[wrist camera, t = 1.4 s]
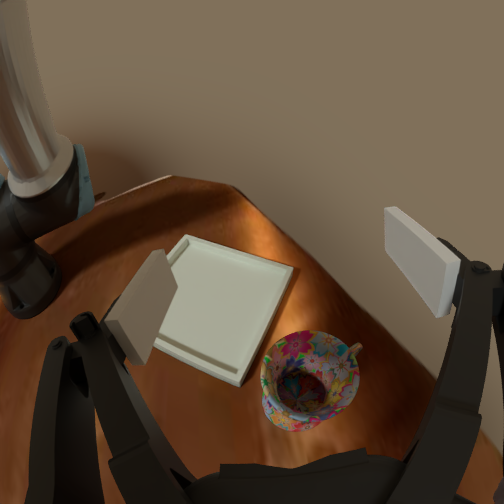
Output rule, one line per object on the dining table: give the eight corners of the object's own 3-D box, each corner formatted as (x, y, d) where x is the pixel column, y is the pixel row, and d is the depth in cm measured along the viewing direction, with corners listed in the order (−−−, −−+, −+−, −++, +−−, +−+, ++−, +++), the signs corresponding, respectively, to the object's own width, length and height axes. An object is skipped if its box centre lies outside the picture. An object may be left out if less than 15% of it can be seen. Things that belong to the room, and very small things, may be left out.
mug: (283, 449, 26) (296, 440, 19) (245, 389, 32) (241, 357, 24) (361, 397, 30) (396, 366, 23) (321, 346, 36) (341, 303, 28)
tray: (120, 327, 38) (115, 319, 36) (187, 243, 51) (185, 234, 49) (240, 387, 32) (239, 382, 30) (292, 276, 45) (293, 267, 43)
